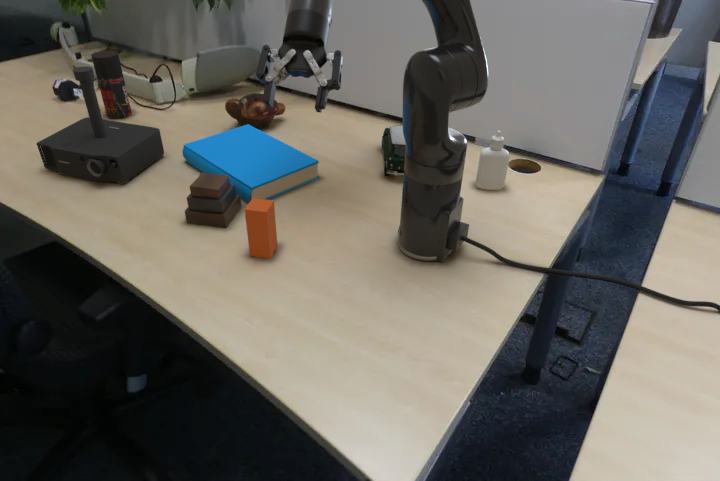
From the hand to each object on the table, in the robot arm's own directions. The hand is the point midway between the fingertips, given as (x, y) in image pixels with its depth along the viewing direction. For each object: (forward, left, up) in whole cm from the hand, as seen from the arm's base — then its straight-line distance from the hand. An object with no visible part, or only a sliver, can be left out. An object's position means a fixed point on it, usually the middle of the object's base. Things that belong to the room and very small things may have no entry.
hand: (293, 108), depth 91 cm
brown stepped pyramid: (+12, +10, -20) cm, 25 cm away
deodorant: (+65, -12, -20) cm, 69 cm away
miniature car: (-8, -28, -20) cm, 35 cm away
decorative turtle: (+32, -26, -20) cm, 46 cm away
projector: (+45, +8, -20) cm, 50 cm away
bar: (-3, +14, -20) cm, 24 cm away
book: (+18, -7, -20) cm, 28 cm away
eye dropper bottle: (-27, -28, -20) cm, 44 cm away
